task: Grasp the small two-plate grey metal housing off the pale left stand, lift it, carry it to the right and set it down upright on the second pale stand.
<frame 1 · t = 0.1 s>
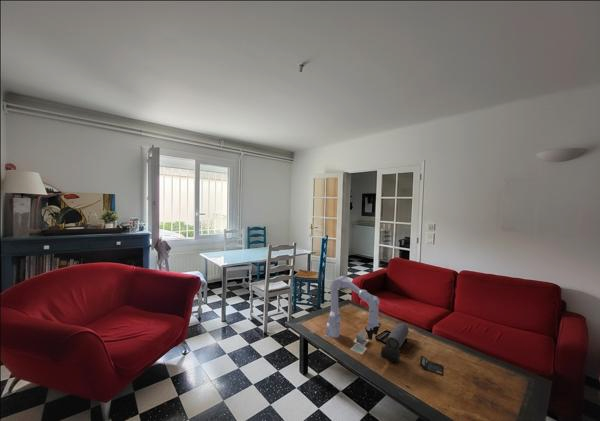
hand: (372, 336, 157), 10 cm above the table, fingers open, 7 cm apart
stand B: (358, 351, 158), on the table
stand A: (361, 343, 166), on the table
bluetooth speaker: (397, 343, 167), on the table
end cap: (390, 359, 150), on the table
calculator: (431, 367, 144), on the table
housing: (361, 341, 166), point 1 cm above the table, touching stand A
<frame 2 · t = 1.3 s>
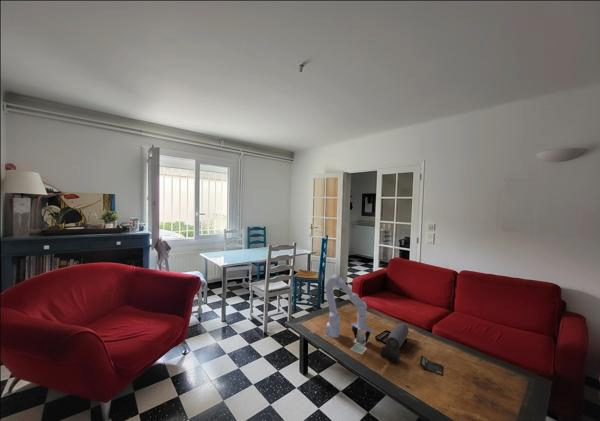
hand: (361, 339, 166), 2 cm above the table, fingers open, 7 cm apart
nothing on the table moved.
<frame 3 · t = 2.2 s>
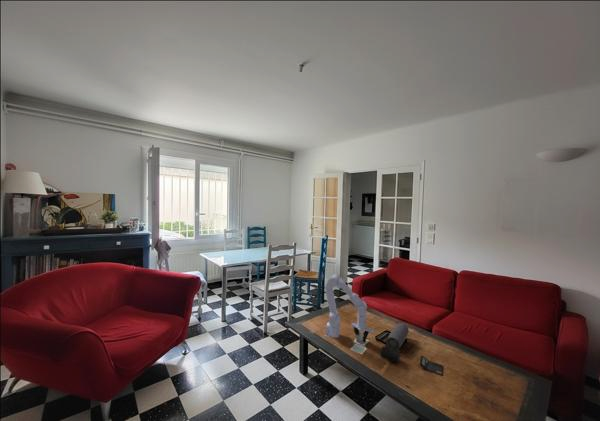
hand: (361, 339, 166), 2 cm above the table, fingers closed on housing, 4 cm apart
housing: (361, 341, 166), point 1 cm above the table, touching gripper, stand A
everything else where it was.
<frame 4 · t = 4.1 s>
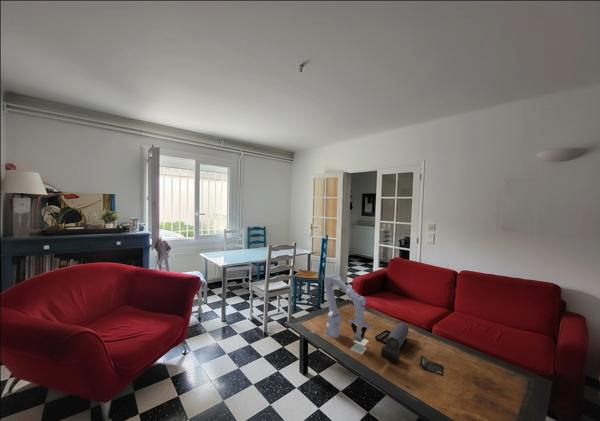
hand: (358, 336, 157), 10 cm above the table, fingers closed on housing, 4 cm apart
housing: (359, 339, 158), point 8 cm above the table, touching gripper
everything else where it was.
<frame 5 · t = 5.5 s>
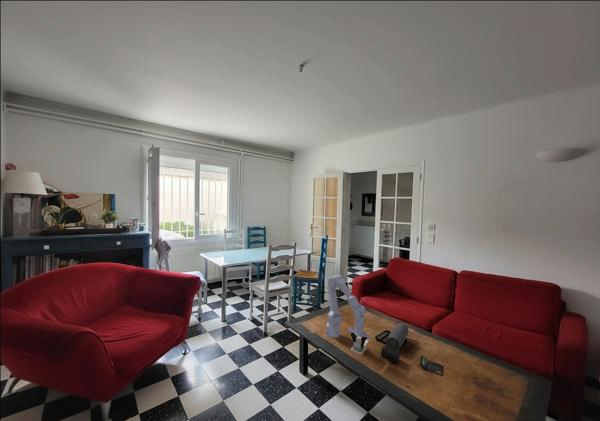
hand: (358, 345, 158), 3 cm above the table, fingers closed on housing, 4 cm apart
housing: (358, 348, 158), point 2 cm above the table, touching gripper, stand B
everything else where it was.
when the fingers open (3 cm above the table, at t = 6.1 s): housing stays where it is, resting on stand B.
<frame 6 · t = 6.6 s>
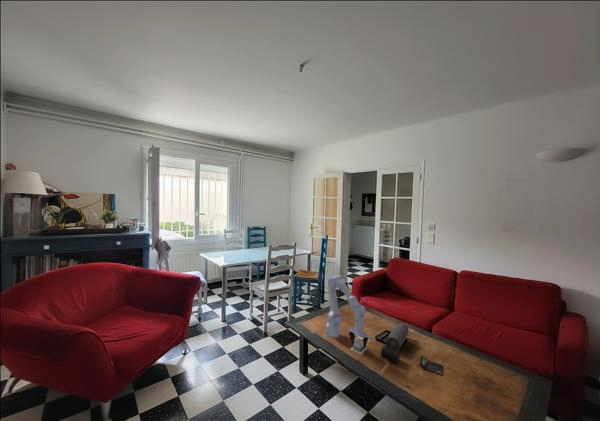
hand: (358, 345, 158), 3 cm above the table, fingers open, 7 cm apart
housing: (358, 348, 158), point 2 cm above the table, touching stand B
everything else where it was.
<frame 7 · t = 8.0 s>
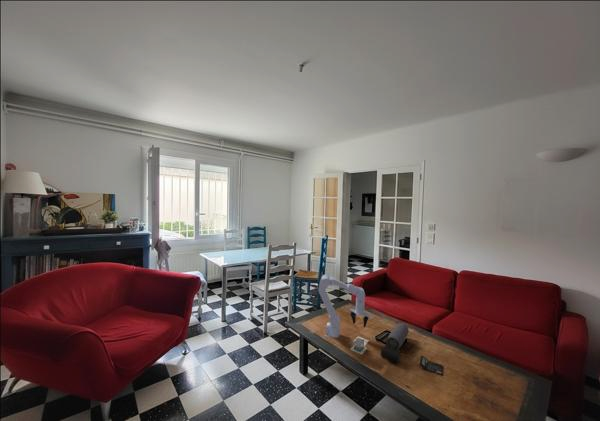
hand: (359, 324, 170), 10 cm above the table, fingers open, 7 cm apart
nothing on the table moved.
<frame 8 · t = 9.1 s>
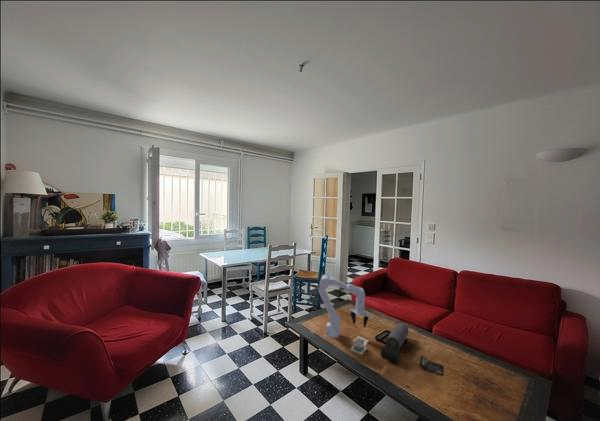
hand: (359, 324, 170), 10 cm above the table, fingers open, 7 cm apart
nothing on the table moved.
at the end: housing 0.5 cm off-centre on the stand B, point 1.6 cm above the stand B's base; housing tilted 0°; the gripper is holding nothing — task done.
